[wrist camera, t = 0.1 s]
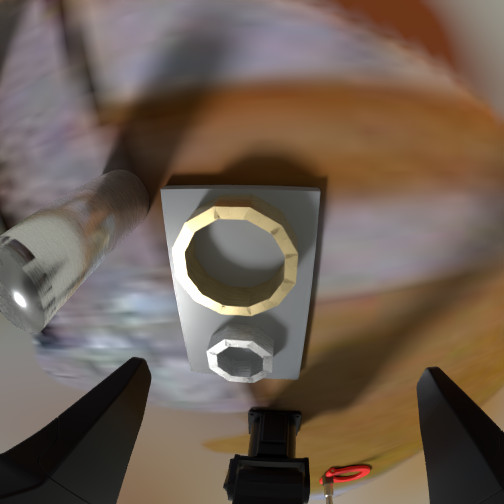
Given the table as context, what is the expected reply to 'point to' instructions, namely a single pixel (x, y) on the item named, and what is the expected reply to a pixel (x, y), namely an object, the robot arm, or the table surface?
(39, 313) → the disc
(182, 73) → the table surface
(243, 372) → the narrow aluminium socket
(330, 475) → the tow hook
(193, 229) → the wide brass socket
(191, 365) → the fitting board
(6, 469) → the robot arm
